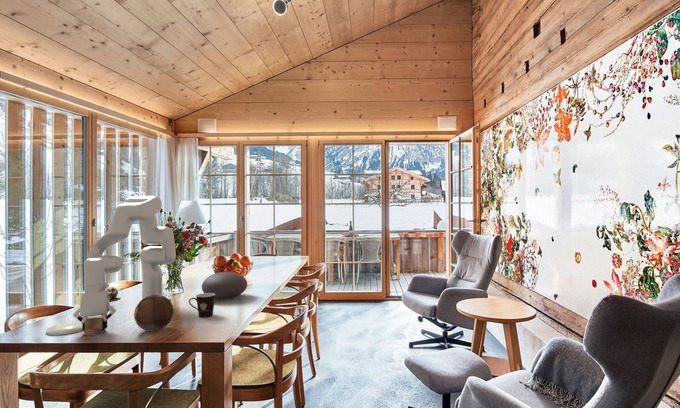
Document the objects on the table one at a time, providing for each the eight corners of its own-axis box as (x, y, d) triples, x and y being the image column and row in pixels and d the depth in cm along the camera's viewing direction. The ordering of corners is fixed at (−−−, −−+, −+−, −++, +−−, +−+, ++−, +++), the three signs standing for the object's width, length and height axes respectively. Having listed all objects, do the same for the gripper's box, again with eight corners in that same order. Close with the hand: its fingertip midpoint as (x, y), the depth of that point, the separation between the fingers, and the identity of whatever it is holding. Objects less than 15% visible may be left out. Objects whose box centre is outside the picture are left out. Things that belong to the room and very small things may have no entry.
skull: (110, 301, 211) (99, 286, 213) (99, 312, 214) (88, 298, 215) (127, 295, 223) (116, 281, 225) (116, 306, 225) (106, 293, 227)
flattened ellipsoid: (202, 295, 228) (202, 270, 228) (245, 292, 236) (245, 267, 236) (200, 305, 205) (200, 277, 205) (248, 301, 212) (248, 274, 212)
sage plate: (92, 322, 176) (92, 320, 176) (83, 332, 161) (83, 329, 161) (53, 326, 170) (53, 323, 170) (40, 337, 156) (40, 334, 156)
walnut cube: (104, 329, 165) (104, 315, 165) (101, 333, 160) (101, 319, 160) (88, 331, 163) (88, 317, 163) (84, 335, 158) (84, 321, 158)
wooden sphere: (174, 323, 173) (174, 290, 174) (171, 333, 159) (171, 297, 159) (137, 327, 169) (137, 292, 169) (131, 338, 154) (130, 300, 155)
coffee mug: (219, 314, 187) (219, 293, 187) (206, 319, 180) (205, 297, 180) (201, 311, 192) (200, 291, 192) (187, 316, 184) (187, 295, 184)
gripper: (119, 284, 168) (120, 325, 168) (73, 287, 162) (73, 330, 162) (116, 288, 161) (116, 331, 161) (67, 291, 155) (67, 336, 155)
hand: (95, 330), depth 162 cm, fingers closed on walnut cube, 6 cm apart
